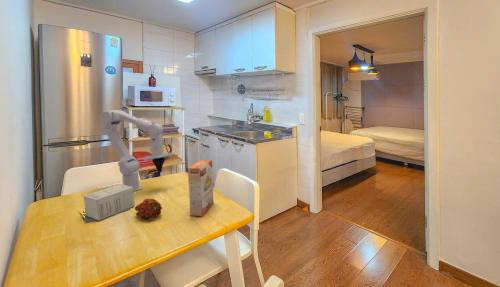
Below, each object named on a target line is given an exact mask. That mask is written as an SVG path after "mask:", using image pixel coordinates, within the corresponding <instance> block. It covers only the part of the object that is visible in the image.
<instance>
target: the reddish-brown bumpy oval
mask: <svg viewBox="0 0 500 287" xmlns="http://www.w3.org/2000/svg"><path fill="white" fill-rule="evenodd" d="M162 209H163V207H162V204H161V203H160V202H159V201H157V200H156V199H154V198H145V199H144V200H142V202H140V203H138V204H137V205H135V207H134V211H136V212H135V215H136V217H139V216H140V217H141V216H142V218H143V220H146V219H148V218H149V219H154V218H156V216H160V215H161V214H162V211H161V210H162Z"/></svg>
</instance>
